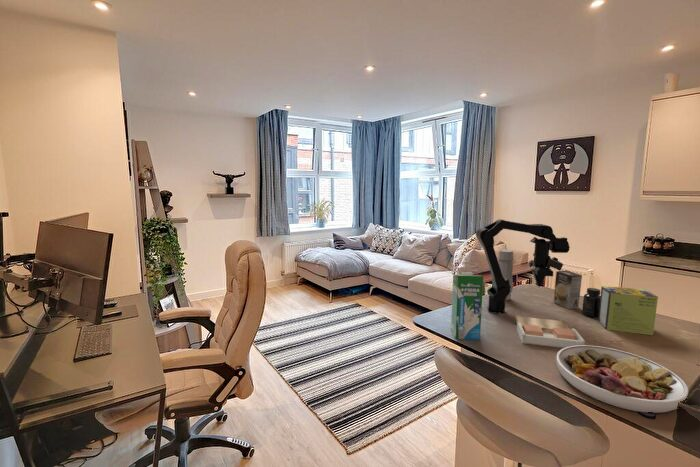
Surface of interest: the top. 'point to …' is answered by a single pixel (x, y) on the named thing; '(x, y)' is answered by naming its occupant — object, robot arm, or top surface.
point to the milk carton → (467, 306)
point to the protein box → (627, 310)
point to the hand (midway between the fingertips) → (539, 286)
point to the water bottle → (506, 267)
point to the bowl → (621, 378)
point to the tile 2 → (563, 333)
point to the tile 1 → (532, 330)
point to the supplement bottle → (591, 303)
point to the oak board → (542, 323)
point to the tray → (549, 339)
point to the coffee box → (567, 289)
